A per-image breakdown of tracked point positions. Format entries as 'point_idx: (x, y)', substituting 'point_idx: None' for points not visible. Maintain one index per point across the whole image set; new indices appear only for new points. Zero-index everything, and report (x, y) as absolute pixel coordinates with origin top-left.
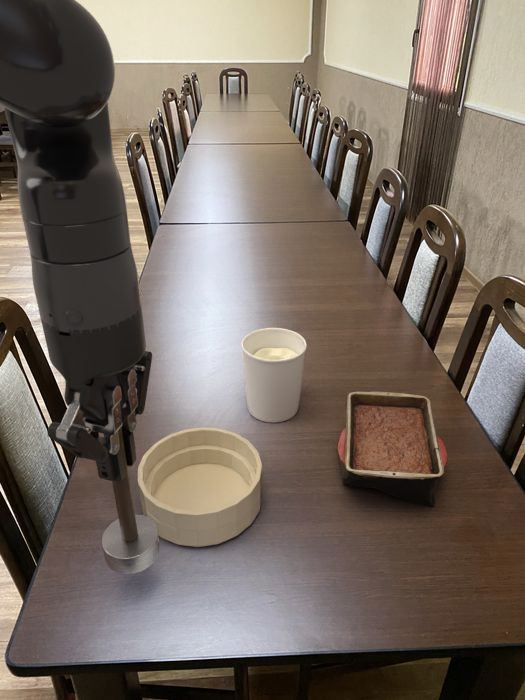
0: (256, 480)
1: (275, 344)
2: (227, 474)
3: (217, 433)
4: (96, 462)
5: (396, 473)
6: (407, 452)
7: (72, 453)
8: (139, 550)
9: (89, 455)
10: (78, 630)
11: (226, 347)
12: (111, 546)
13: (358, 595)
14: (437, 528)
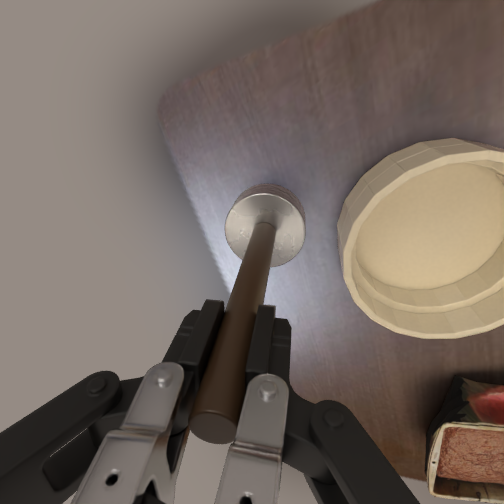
0: (421, 335)
1: None
2: (479, 251)
3: None
4: (171, 345)
5: (434, 464)
6: (482, 468)
7: (57, 399)
8: (244, 254)
9: (52, 456)
10: (206, 153)
11: None
12: (239, 216)
13: (312, 379)
14: (397, 433)
